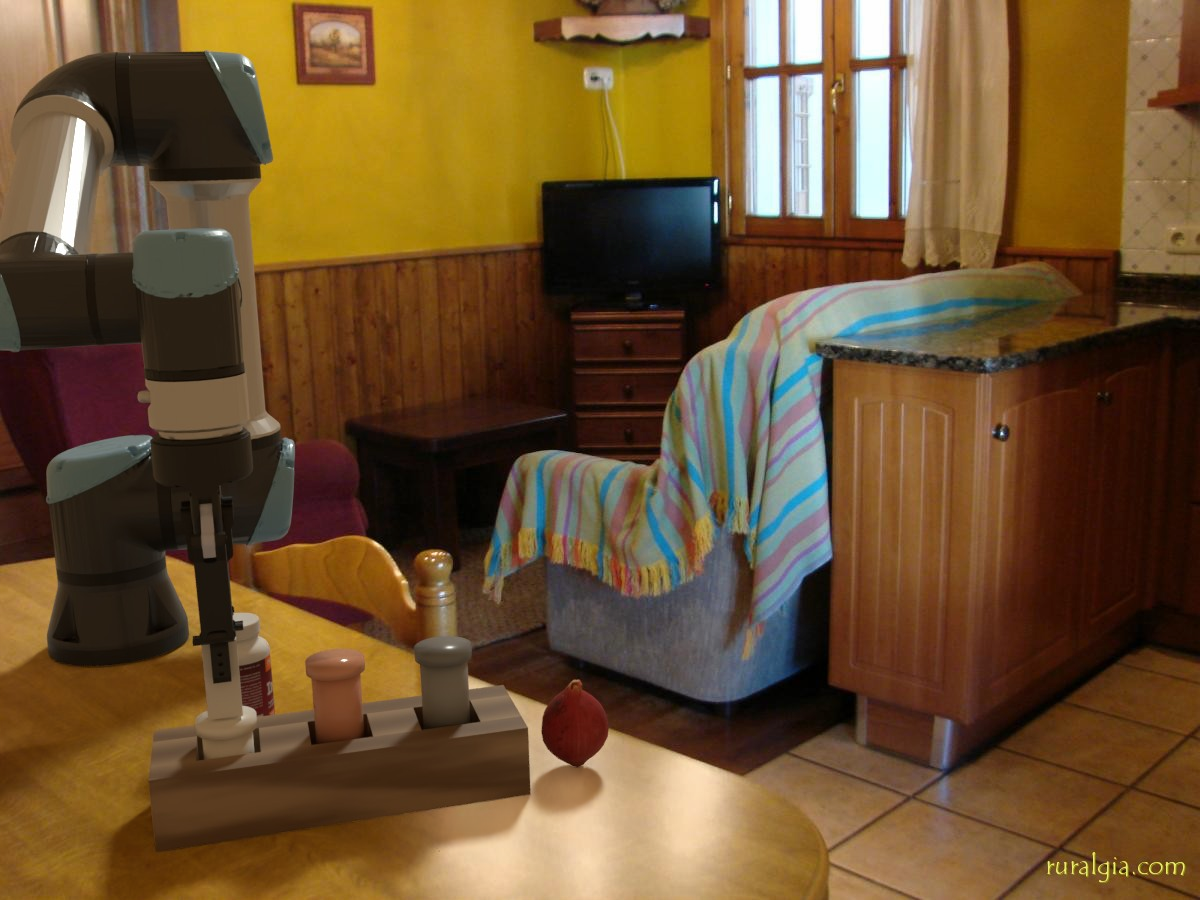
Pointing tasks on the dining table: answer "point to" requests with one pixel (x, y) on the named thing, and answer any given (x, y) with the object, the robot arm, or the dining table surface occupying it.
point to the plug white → (227, 734)
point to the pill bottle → (254, 666)
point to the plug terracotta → (337, 694)
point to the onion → (574, 725)
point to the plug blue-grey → (444, 680)
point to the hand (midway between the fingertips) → (225, 714)
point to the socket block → (336, 771)
